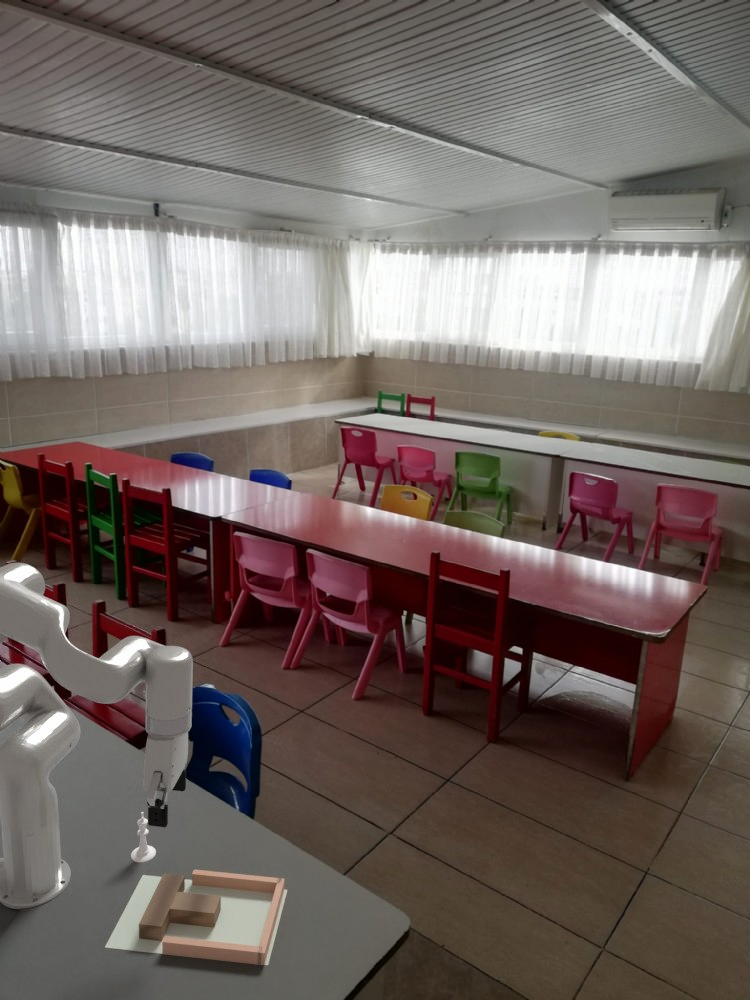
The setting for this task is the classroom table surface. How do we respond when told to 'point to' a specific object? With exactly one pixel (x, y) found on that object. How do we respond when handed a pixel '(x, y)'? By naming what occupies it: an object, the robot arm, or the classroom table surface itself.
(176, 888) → the t block
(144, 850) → the chess piece
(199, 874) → the pocket
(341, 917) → the classroom table surface
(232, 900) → the mat
